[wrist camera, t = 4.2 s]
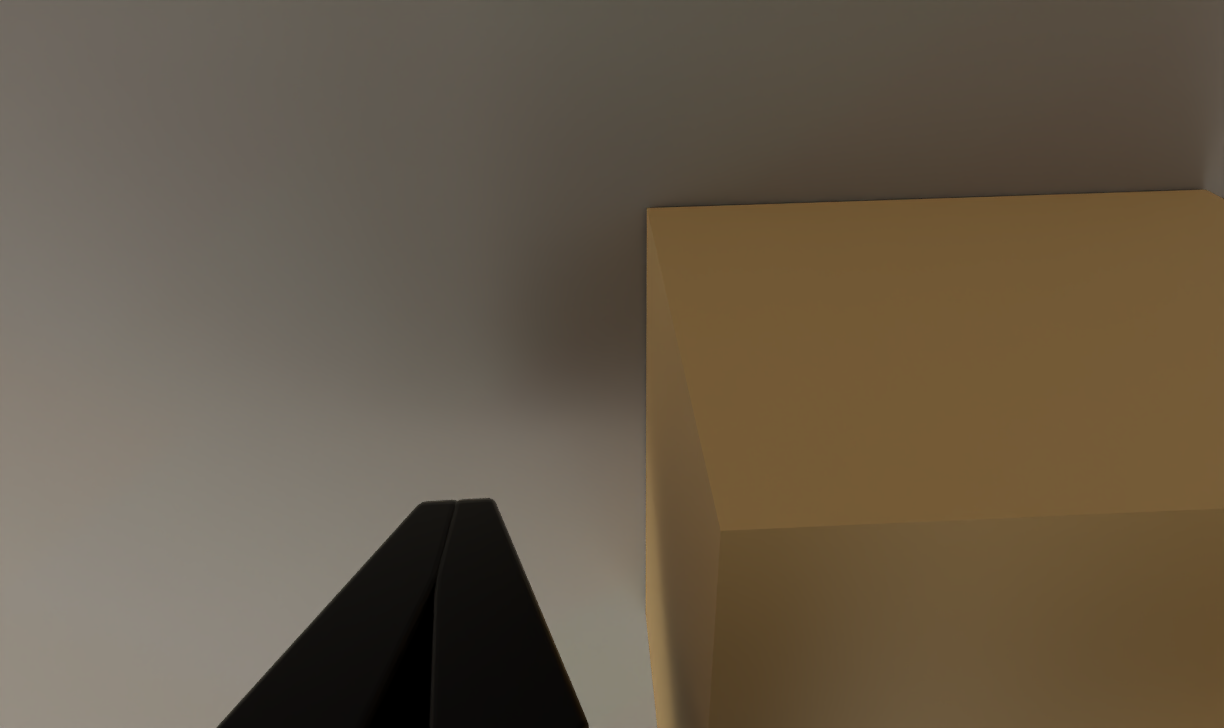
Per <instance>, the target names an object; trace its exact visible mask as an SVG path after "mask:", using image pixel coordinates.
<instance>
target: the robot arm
mask: <svg viewBox="0 0 1224 728" xmlns="http://www.w3.org/2000/svg"><path fill="white" fill-rule="evenodd" d="M217 728H589V725H588V722H587V719H586V717H585V714H584V712H583V710H582V707H581V705H580V702H579V700H578V698H577V695H576V693H575V691H574V688H573V686H572V683H571V681H570V679H569V676H568V674H567V671H566V669H565V667H564V664H563V662H562V660H561V657H560V655H559V652H558V650H557V648H556V645H555V643H554V640H553V638H552V636H551V633H550V631H549V629H548V626H547V624H546V621H545V619H544V617H543V614H542V612H541V609H540V607H539V605H538V602H537V600H536V598H535V595H534V593H533V590H532V588H531V586H530V583H529V581H528V578H527V576H526V574H525V571H524V569H523V567H522V564H521V562H520V559H519V557H518V555H517V552H516V550H515V547H514V545H513V543H512V540H511V538H510V535H509V533H508V531H507V528H506V526H505V524H504V521H503V519H502V516H501V514H500V512H499V509H498V507H497V504H496V502H495V501H494V500H493V499H491V498H480V499H462V500H459V501H456V500H442V501H426V502H422V503H421V504H419V505H418V506H417V507H416V508H415V509H414V510H413V511H412V512H411V513H410V514H409V516H408V517H407V518H406V519H405V520H404V521H403V522H402V523H401V524H400V525H399V527H398V528H397V529H396V530H395V531H394V532H393V533H392V534H391V535H390V537H389V538H388V539H387V540H386V541H385V542H384V543H383V544H382V545H381V546H380V548H379V549H378V550H377V551H376V552H375V553H374V554H373V555H372V556H371V557H370V559H369V560H368V561H367V562H366V563H365V564H364V565H363V566H362V567H361V569H360V570H359V571H358V572H357V573H356V574H355V575H354V576H353V577H352V578H351V580H350V581H349V582H348V583H347V584H346V585H345V586H344V587H343V588H342V590H341V591H340V592H339V593H338V594H337V595H336V596H335V597H334V598H333V599H332V601H331V602H330V603H329V604H328V605H327V606H326V607H325V608H324V609H323V611H322V612H321V613H320V614H319V615H318V616H317V617H316V618H315V619H314V620H313V622H312V623H311V624H310V625H309V626H308V627H307V628H306V629H305V630H304V632H303V633H302V634H301V635H300V636H299V637H298V638H297V639H296V640H295V641H294V643H293V644H292V645H291V646H290V647H289V648H288V649H287V650H286V651H285V653H284V654H283V655H282V656H281V657H280V658H279V659H278V660H277V661H276V662H275V664H274V665H273V666H272V667H271V668H270V669H269V670H268V671H267V672H266V674H265V675H264V676H263V677H262V678H261V679H260V680H259V681H258V682H257V683H256V685H255V686H254V687H253V688H252V689H251V690H250V691H249V692H248V693H247V695H246V696H245V697H244V698H243V699H242V700H241V701H240V702H239V703H238V704H237V706H236V707H235V708H234V709H233V710H232V711H231V712H230V713H229V714H228V716H227V717H226V718H225V719H224V720H223V721H222V722H221V723H220V724H219V725H218V727H217Z"/></svg>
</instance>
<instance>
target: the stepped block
mask: <svg viewBox="0 0 1224 728" xmlns="http://www.w3.org/2000/svg"><path fill="white" fill-rule="evenodd" d="M646 621H647V631H648V640H649V650H650V660H651V669H652V679H653V689H654V699H655V708H656V718H657V728H1224V199H1223V198H1221V197H1219V196H1217V195H1215V194H1213V193H1211V192H1209V191H1207V190H1179V191H1148V192H1118V193H1088V194H1058V195H1028V196H997V197H967V198H937V199H907V200H877V201H846V202H816V203H786V204H756V205H726V206H695V207H665V208H647V332H646Z"/></svg>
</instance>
